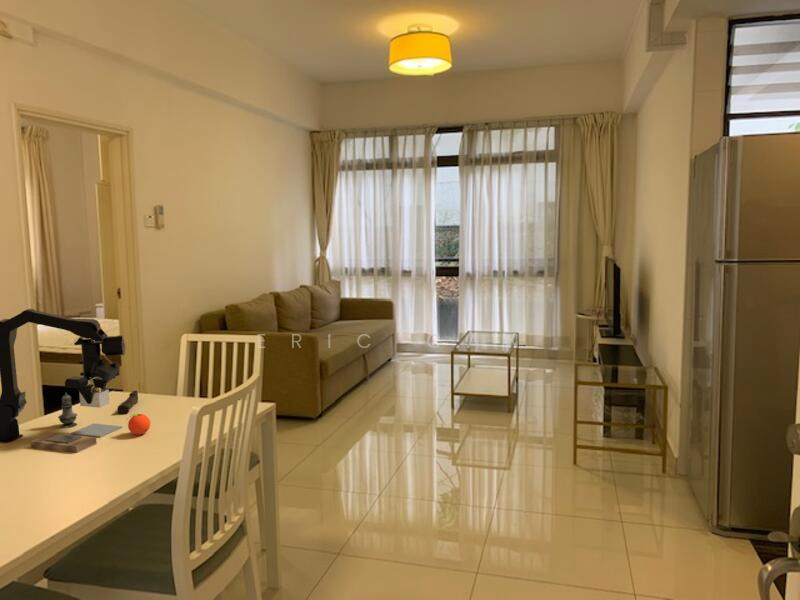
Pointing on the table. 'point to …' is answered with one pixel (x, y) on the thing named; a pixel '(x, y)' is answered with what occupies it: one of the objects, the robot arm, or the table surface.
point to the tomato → (139, 424)
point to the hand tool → (128, 403)
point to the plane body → (63, 442)
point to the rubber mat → (96, 430)
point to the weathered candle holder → (67, 413)
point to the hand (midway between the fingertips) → (94, 401)
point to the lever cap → (96, 398)
